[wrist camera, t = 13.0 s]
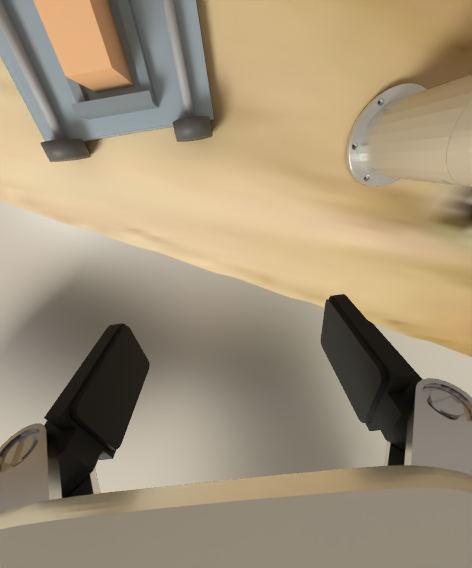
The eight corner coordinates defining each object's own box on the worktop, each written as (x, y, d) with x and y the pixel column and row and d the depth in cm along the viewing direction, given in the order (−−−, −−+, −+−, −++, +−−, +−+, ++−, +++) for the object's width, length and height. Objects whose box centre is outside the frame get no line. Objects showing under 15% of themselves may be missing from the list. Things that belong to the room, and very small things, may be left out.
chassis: (178, -116, 20) (165, -192, 15) (216, 136, 30) (215, 133, 26) (-53, -67, 20) (-127, -126, 16) (63, 161, 31) (37, 162, 27)
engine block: (108, -2, 22) (73, -49, 17) (134, 85, 26) (111, 67, 21) (64, 7, 22) (17, -38, 17) (96, 92, 26) (65, 76, 21)
